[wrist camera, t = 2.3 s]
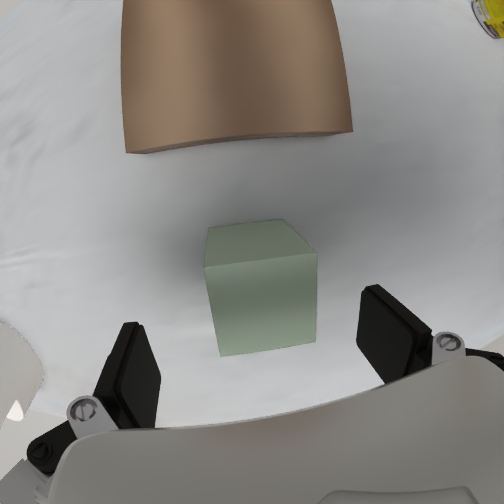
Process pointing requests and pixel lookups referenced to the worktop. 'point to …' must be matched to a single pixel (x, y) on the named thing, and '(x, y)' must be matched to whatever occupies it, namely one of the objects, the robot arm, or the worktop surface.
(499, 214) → the worktop surface
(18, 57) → the worktop surface
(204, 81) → the walnut base
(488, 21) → the supplement bottle
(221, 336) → the sage block
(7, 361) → the base with upright slab
